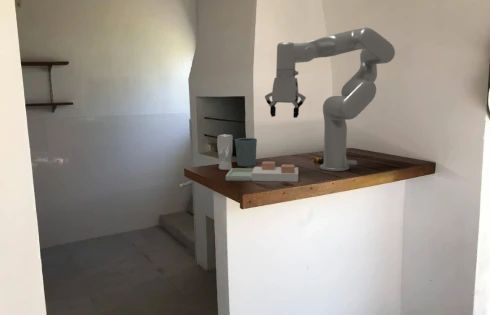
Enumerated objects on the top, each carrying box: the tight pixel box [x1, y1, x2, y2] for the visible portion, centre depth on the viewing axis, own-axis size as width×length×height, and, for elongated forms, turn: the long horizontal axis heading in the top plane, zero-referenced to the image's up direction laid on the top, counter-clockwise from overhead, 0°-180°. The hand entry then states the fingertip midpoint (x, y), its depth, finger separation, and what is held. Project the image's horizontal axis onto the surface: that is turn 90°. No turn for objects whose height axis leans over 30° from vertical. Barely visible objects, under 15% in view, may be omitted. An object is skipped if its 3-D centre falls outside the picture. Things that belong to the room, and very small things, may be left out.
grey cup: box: [234, 137, 258, 167], centre depth 195 cm, size 10×10×12 cm
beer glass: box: [216, 134, 234, 171], centre depth 186 cm, size 7×7×15 cm
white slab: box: [251, 166, 299, 183], centre depth 168 cm, size 18×13×3 cm
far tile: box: [261, 160, 276, 170], centre depth 171 cm, size 5×5×2 cm
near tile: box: [280, 163, 295, 173], centre depth 164 cm, size 5×5×2 cm
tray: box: [225, 167, 254, 182], centre depth 170 cm, size 10×15×2 cm, turn 173°
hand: (284, 116), depth 172 cm, fingers open, 9 cm apart
